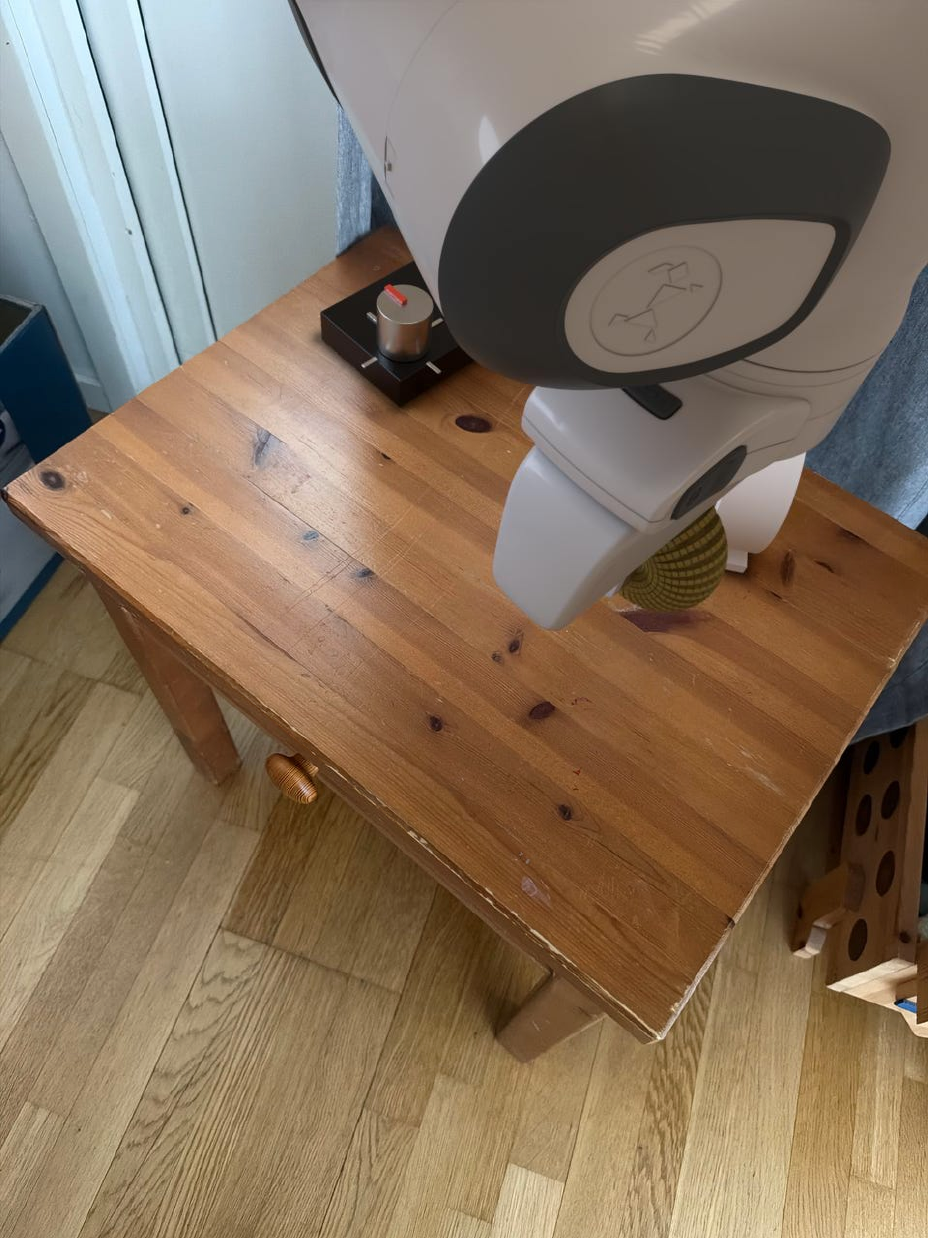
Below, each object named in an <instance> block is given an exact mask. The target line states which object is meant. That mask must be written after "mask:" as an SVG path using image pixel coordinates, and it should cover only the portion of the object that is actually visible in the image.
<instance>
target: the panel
mask: <svg viewBox="0 0 928 1238" xmlns="http://www.w3.org/2000/svg"><path fill="white" fill-rule="evenodd" d="M389 284H390V285H391V286H395V285H411V286H415V287H418V288H420V289H422V290H424V291H425V292H426V293H427V294H428V295H429V296H430V297H431V299H432V301H433V319H432V331H431V344H430V349H429V351H428V352H427V354H426V355H425V356H424V357H422V358H421V359H419V360H416V361H412V362H398V361H394V360H391V359H389V358H387V357H386V356H384V355H383V354H382V353H381V352H380V351H379V349H378V347H377V343H376V331H377V299H378V297H379V295H380V294H381V292H383V291H384V287H385V286H387V285H389ZM319 318H320V319H319V320H320V336H321V340H322V342H324V343H325V344H326V345H327V346H329V348H331V350H333V351H334V352H335V353H337V355H339V356H340V357H341V358H342V359H343V360H344V361H345V362H346V363H348V364H349V365H350V366H351V367H352V368H353V369H355V370H356V371H357V372H358V373H359V374H360V375H361V376H363V377H364V378H365V379H366V380H367V381H368V382H369V383H370V384H371V385H373V386H374V387H375V388H376V389H378V391H380V392H381V393H382V394H383V395H384V396H386V397H387V398H388V399H389V400H390V401H391V402H392V403H394V404H395V405H396V406H397V407H398V408H402V407H403V406H404V405H406V404H407V403H409V402H410V401H412V400H414V399H416V398H417V397H418V396H420V395H421V394H423V393H425V392H426V391H428V390H430V389H431V388H432V387H434V386H437V384H439V383H441V382H442V381H443V380H446V379H447V378H448V377H450V376H452V375H454V374H455V373H456V372H458V371H460V370H461V369H462V368H464V367H466V366H467V365H469V364H471V363H472V362H473V361H475V360H474V359H473V358H471V357H470V356H469V355H468V354H467V353H466V352H465V351H464V350H463V349H462V348H461V346H460V345H459V344H458V343H457V341H456V340H455V338H454V337H453V335H452V334H451V332H450V330H449V328H448V326H447V324H446V322H445V319H444V317H443V315H442V313H441V311H440V309H439V308H438V306H437V304H436V302H435V300H434V298H433V296H432V294H431V292H430V290H429V288H428V286H427V284H426V282H425V281H424V279H423V277H422V275H421V273H420V271H419V269H418V267H417V265H416V263H415V261H414V260H412V261H410V262H408V263H407V264H404V265H403V266H401V267H399V268H397V269H396V270H394V271H392V272H390V273H388V274H387V275H385V276H383V277H381V278H379V279H377V280H376V281H374V282H372V283H370V284H368V285H366V286H365V287H363V288H361V289H359V290H357V291H355V292H353V293H352V294H351V295H348V296H347V297H344V298H343V299H341V300H339V301H337V302H336V303H333V304H332V305H330V306H328V307H326V308H325V309H323V310H321V311H320V312H319Z"/></svg>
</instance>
